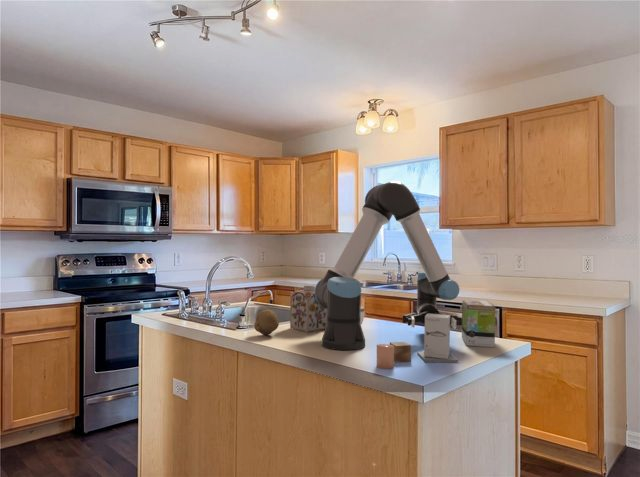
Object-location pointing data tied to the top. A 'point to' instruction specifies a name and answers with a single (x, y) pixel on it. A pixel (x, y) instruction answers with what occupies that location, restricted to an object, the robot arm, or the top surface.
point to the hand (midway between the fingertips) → (434, 324)
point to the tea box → (478, 323)
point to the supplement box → (437, 336)
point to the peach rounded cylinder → (385, 356)
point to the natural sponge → (266, 322)
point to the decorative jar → (307, 311)
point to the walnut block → (401, 351)
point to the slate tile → (432, 359)
